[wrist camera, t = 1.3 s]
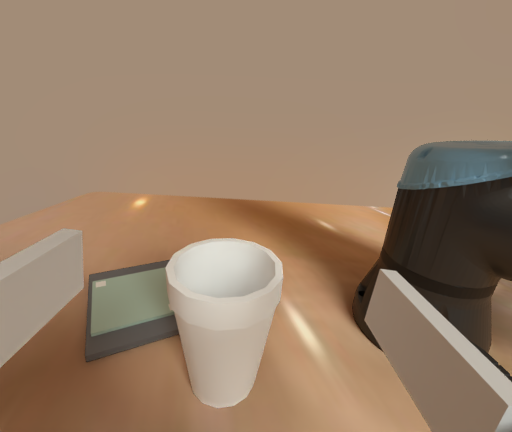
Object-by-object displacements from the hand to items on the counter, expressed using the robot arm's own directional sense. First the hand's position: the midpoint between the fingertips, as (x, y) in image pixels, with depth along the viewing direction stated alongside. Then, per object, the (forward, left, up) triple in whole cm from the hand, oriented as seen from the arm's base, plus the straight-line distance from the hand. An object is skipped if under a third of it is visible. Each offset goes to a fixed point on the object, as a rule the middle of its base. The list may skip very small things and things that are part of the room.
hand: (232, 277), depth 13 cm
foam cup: (-3, -9, -19) cm, 21 cm away
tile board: (-2, -23, -18) cm, 30 cm away
